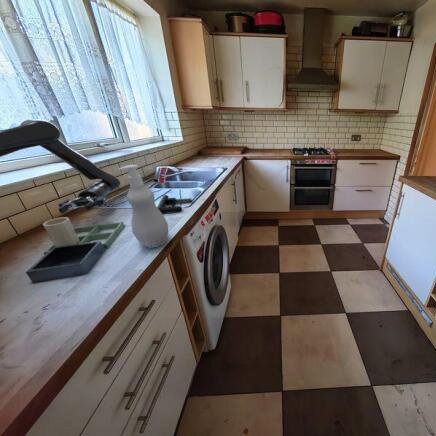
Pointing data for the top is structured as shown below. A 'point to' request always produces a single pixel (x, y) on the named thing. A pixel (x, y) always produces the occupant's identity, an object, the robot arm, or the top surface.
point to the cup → (61, 232)
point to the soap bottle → (145, 212)
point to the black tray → (66, 261)
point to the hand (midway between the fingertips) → (74, 209)
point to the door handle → (171, 201)
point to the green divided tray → (93, 235)
